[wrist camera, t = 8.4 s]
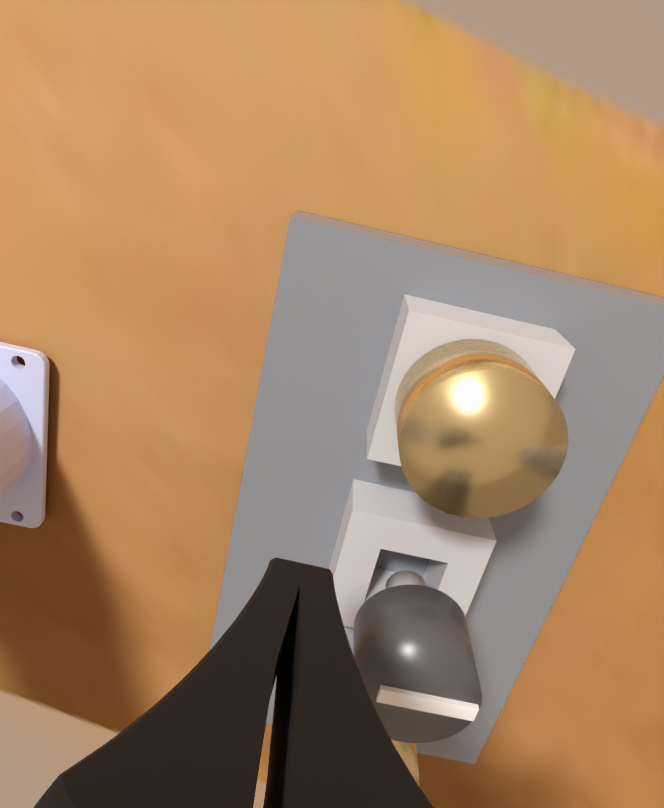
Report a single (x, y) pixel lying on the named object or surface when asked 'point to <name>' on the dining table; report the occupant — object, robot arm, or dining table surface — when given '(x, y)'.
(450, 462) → the knob
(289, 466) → the mount
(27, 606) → the dining table surface
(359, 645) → the pot knob
